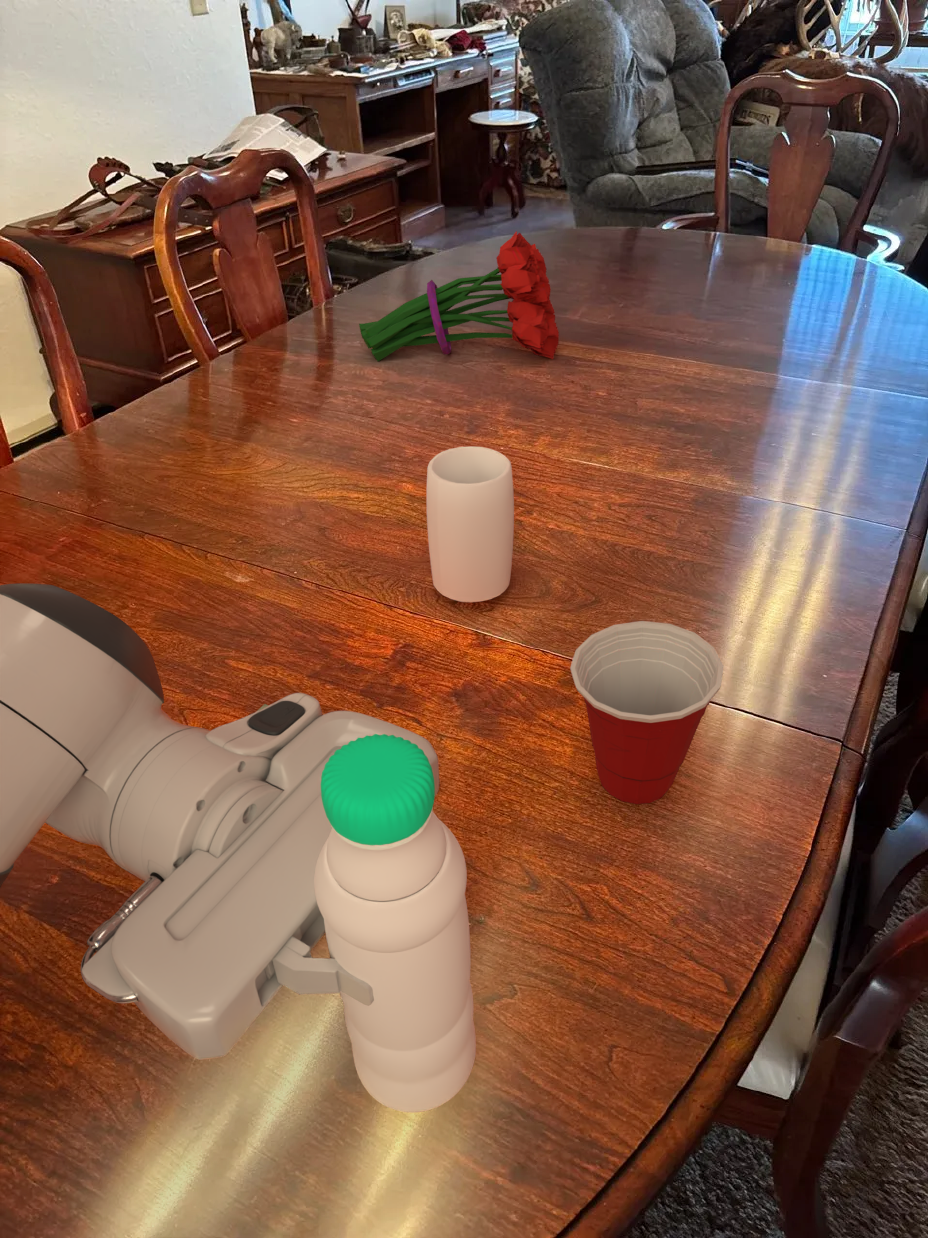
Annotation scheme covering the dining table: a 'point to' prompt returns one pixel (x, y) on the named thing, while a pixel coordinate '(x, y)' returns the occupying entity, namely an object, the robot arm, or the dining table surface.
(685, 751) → the plastic cup
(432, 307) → the bouquet
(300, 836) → the robot arm
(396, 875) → the water bottle
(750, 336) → the dining table surface
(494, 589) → the cup
